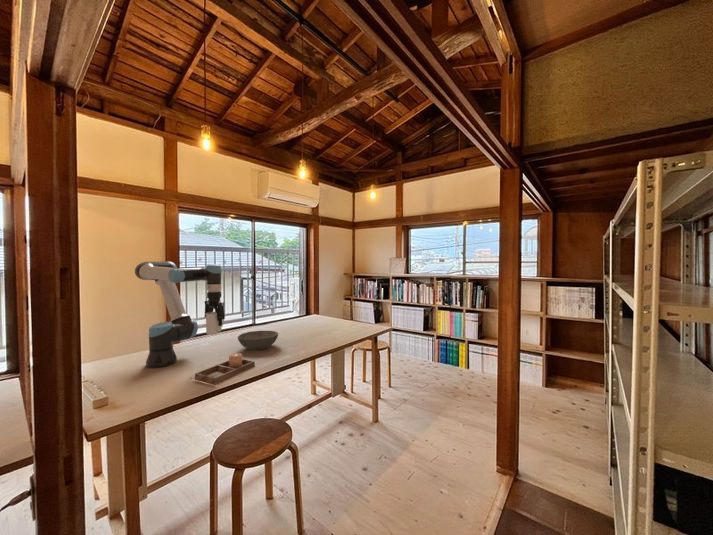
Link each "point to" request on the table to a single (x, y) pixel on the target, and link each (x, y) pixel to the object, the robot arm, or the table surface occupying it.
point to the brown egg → (235, 360)
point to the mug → (212, 323)
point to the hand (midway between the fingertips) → (214, 330)
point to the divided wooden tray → (222, 371)
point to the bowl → (257, 339)
